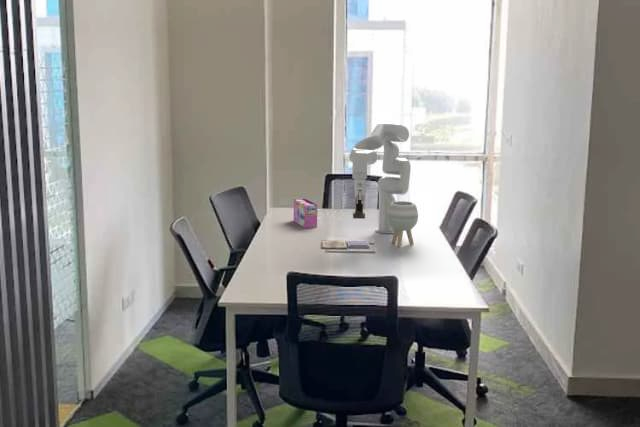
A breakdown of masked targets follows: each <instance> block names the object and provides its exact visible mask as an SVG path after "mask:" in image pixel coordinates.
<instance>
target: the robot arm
mask: <svg viewBox="0 0 640 427" xmlns="http://www.w3.org/2000/svg"><path fill="white" fill-rule="evenodd" d="M409 137H410V132H409V128H407V127H406V126H405V125H403V124H401V123H398V122H389V121H388V122H387V121H386V122H384V121H381V122H379V123H377V124H376V126H375V127H374V129H373V131H372V132H371V133H370V135H369V136H368V137H366V138H363V139H362V140H360V141H358V142H356V143H355V144H354V146H353V148H352V149H351V150H350V153H349V160H350V162H351V163H352V180H353V179H354V195H355V196H356V198H357V204H356V211H357V212H362V209H363V210H364V203H363V204H362V196H363V199H365V198H366V180H367V179H368V165H374V164H375V163H377V160H378V154H377V152H376V151H375V150H378V149H382V147H383V158H382V172H383V173H384V174H386V175H389V176H382V177H380V178H379V179H378V180H377V189H378V190H377V191H378V227H377V228H375V232H376V233H379V234H387V235H389V234H394V229H393V228H392V227H391V226H390V225H389V223H388V221H387V212H388V208H389V206H390V204H391V203H392V202H396V198H395V196H394V195H401V196H403V195H406V194H407V193H408V191H409V186H410V178H411V177H410V176H411V162H410V160H409V159H407V158H401V157H400V158H399V156H400V155H399V154H400V148H399V147H398V144H397V143H405V142H407V140H408V139H409ZM390 175H391V176H390ZM392 175H393V176H392ZM394 176H396V177H394ZM397 176H399V177H397ZM355 196H354V197H355ZM358 197H359V198H358Z"/></svg>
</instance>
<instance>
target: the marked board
mask: <svg viewBox="0 0 640 427" xmlns="http://www.w3.org/2000/svg"><path fill="white" fill-rule="evenodd" d="M321 249H322V250H348V244H347V240H326V239H325V240H321Z"/></svg>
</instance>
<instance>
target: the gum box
mask: <svg viewBox="0 0 640 427" xmlns="http://www.w3.org/2000/svg"><path fill="white" fill-rule="evenodd" d="M293 222H294V223H296V224H298V225H299V224H300V225H299V226H301V227H302V226H303V227H302V228H304V229H310V228H311V227H312V228H313V227H314V228H317V227H318V204H316V203H314V202H312V201H310V200H309V199H307V198H302V199H293Z"/></svg>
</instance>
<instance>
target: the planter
mask: <svg viewBox="0 0 640 427" xmlns="http://www.w3.org/2000/svg"><path fill="white" fill-rule="evenodd" d="M395 201H396V200H395ZM418 220H419V213H418V208H417V206H416V203H414V202H412V201H400V200H397V201H396V202H392V203H391V204H390V206H389V208H388V212H387V221H388V223H389V225H390V226H391V227H392V228H393V229H394V233H392V234H393V236H392V239H391V243H392V244H396V247H397V248H401V247H402V244H403V243H402V242H403V234H404V233H403V232H406V236H407V239H408V242H409V243H408V244H409V245H411V246H412V245H414V238H413V235H412V229H413V228H414V227H415V226H416V225H417V224H418Z"/></svg>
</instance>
